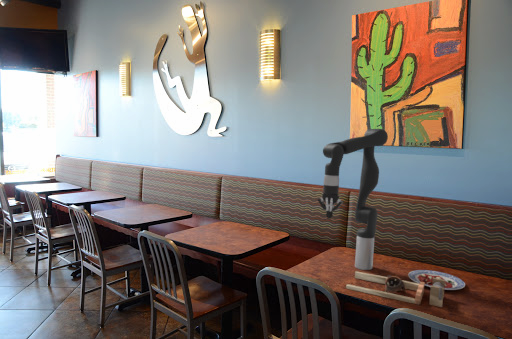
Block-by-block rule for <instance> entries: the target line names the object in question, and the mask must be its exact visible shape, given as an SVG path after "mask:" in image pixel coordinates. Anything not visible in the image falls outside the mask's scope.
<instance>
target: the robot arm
mask: <svg viewBox="0 0 512 339" xmlns="http://www.w3.org/2000/svg"><path fill="white" fill-rule="evenodd" d="M388 136H389V135H388V132H387V131H386V130H385V129H383V128H368V129H366V131H365V133H364V135H363V136H358V137H352V138H348V139H344V140H342V141H337V142H331V143H328V144H326V145H324V146H323V149H322V154H323V156H324V157H325V158H327V159H331V160H330V162H328V163H326V164H325V166H324V176H323V187H322V188H323V190H322V195H321V197H320V198H318V199H317V202H318V204H320V206H321V208H322V210H325V211H326V212H325V213H326V214H325V215H326V218H327V219H332V218H333V214H334V213H333V212H334V211H337V209H339V208H340V207H341V205H342V204H343V203H344V201H343V200H341V199H340V196H339V193H340V192H339V189H340V188H339V187H340V167H341V164H342V162H343V158H344V155H349V154H351V153H355V152H357V151H360V150H363V152H362V154H363V156H362V167H361V172H360V182H359V190H358V197H357V201H356V205H355V211H354V212H355V213H354V219H355V221H356V223H359V224H363V225H364V224H365V225H366V227H365V228H360V229H358V230H357V232H356V241H355V242H356V245H355V258H354V259H355V260H354V267H355V268H356V269H358V270H363V271H369V270H372V269H373V263H374V249H375V236H376V232H377V222H378V210H377V209H376V207H372V206H371V207H370V206H366V203H367V200H368V197H369V196H370V195H371V193H372V192H374V190H375V188H376V187H377V185H378V183H379V179H380V178H379V176H380V169H379V166H378V163H377V160H376V158H375V147H381V146H384V145H385V144H386V143H387V141H388V138H389V137H388ZM336 203H337V204H336ZM335 204H336V205H335Z"/></svg>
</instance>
